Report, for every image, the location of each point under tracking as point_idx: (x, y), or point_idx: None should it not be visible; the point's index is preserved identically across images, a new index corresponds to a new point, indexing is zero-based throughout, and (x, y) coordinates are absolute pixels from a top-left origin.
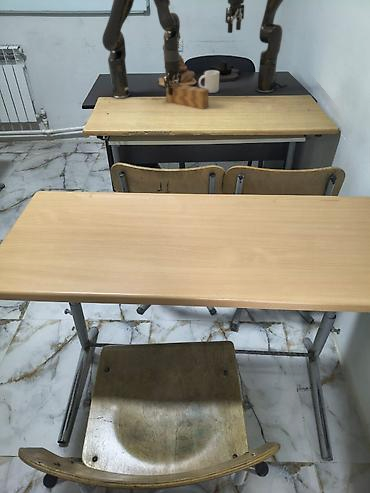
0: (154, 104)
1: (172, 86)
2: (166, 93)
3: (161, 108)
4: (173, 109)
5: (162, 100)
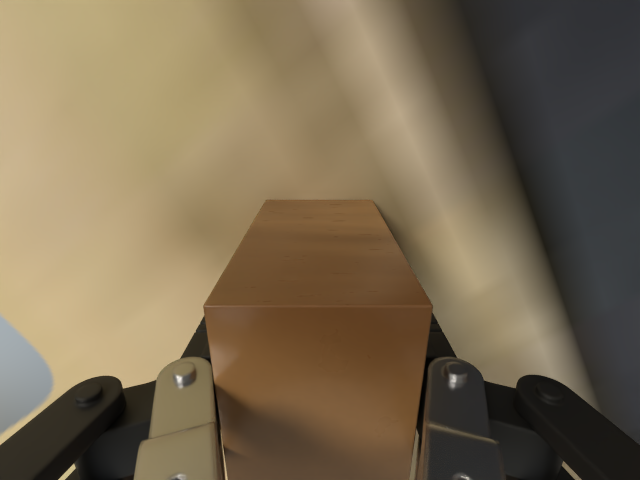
0: (91, 123)
1: (226, 455)
2: (246, 238)
3: (62, 279)
4: (128, 384)
5: (273, 120)
